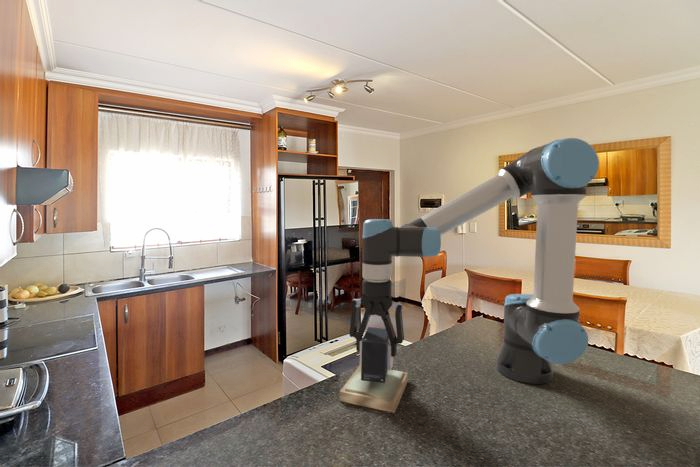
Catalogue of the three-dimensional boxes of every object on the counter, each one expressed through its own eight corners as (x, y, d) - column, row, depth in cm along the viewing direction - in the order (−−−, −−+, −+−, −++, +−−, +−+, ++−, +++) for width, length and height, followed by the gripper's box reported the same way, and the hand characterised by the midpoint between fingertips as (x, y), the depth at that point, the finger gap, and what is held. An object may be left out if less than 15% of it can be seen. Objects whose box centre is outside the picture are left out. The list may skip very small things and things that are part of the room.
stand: (407, 381, 97) (407, 370, 97) (394, 412, 82) (394, 400, 82) (360, 372, 102) (360, 362, 102) (339, 401, 87) (339, 389, 87)
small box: (386, 384, 86) (386, 342, 85) (360, 381, 87) (360, 340, 86) (390, 365, 96) (390, 328, 95) (366, 362, 98) (367, 326, 97)
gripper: (417, 279, 90) (416, 365, 92) (346, 273, 97) (346, 354, 99) (412, 285, 83) (411, 378, 85) (335, 279, 90) (335, 365, 91)
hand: (376, 365), depth 92 cm, fingers closed on small box, 7 cm apart
